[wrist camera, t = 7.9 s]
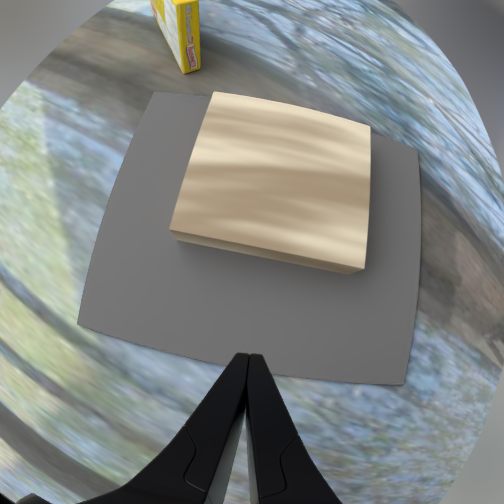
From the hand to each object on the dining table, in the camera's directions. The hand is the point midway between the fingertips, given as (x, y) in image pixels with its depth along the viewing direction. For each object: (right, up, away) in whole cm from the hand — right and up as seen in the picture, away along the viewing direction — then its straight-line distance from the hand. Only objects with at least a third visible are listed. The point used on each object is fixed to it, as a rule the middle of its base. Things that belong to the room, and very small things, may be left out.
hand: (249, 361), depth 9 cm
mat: (+1, +6, +11) cm, 13 cm away
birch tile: (+1, +3, +9) cm, 10 cm away
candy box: (-9, +27, +16) cm, 33 cm away
